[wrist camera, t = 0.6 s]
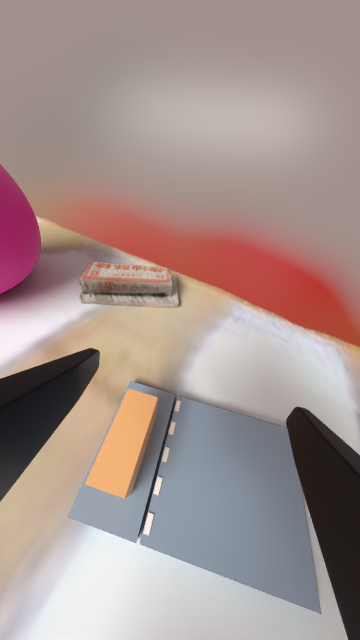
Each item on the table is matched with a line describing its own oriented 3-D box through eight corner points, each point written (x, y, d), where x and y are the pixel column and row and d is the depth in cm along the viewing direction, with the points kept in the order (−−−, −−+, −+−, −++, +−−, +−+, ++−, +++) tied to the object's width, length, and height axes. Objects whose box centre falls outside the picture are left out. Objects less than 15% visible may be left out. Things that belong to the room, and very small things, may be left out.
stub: (136, 539, 15) (129, 566, 10) (71, 514, 15) (37, 529, 11) (174, 397, 23) (179, 377, 18) (131, 384, 23) (125, 361, 19)
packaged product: (70, 284, 29) (88, 253, 35) (79, 306, 32) (94, 274, 39) (181, 290, 31) (178, 260, 37) (178, 310, 34) (176, 279, 41)
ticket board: (312, 606, 14) (322, 614, 13) (140, 540, 15) (139, 544, 14) (287, 431, 22) (292, 429, 21) (177, 398, 23) (177, 395, 22)
